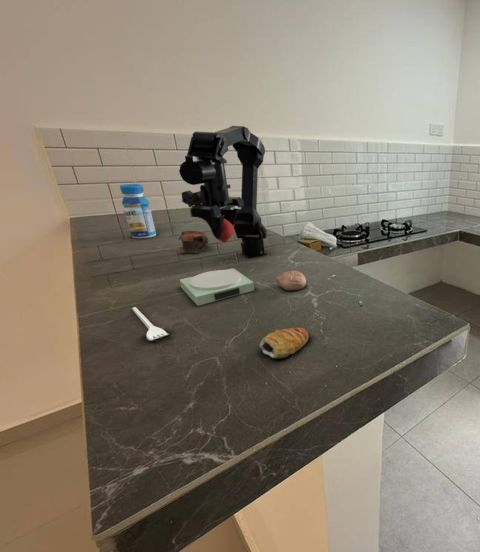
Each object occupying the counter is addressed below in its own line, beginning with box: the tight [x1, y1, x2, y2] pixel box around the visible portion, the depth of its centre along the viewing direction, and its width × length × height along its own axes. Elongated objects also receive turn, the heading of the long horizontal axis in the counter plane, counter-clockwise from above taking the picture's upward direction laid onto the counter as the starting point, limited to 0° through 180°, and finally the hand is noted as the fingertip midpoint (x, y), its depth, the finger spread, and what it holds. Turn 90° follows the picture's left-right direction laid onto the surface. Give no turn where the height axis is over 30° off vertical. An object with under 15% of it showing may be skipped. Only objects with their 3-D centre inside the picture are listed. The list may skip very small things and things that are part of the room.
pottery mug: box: [178, 230, 209, 254], centre depth 117 cm, size 12×10×8 cm
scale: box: [179, 267, 255, 306], centre depth 88 cm, size 14×14×3 cm
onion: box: [211, 219, 235, 243], centre depth 95 cm, size 6×6×8 cm
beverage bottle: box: [119, 183, 157, 239], centre depth 126 cm, size 8×8×20 cm
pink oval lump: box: [275, 269, 307, 292], centre depth 92 cm, size 8×6×8 cm
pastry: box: [259, 327, 310, 359], centre depth 65 cm, size 9×7×4 cm
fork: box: [131, 306, 170, 342], centre depth 70 cm, size 3×20×2 cm, turn 51°
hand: (223, 235), depth 96 cm, fingers closed on onion, 6 cm apart
